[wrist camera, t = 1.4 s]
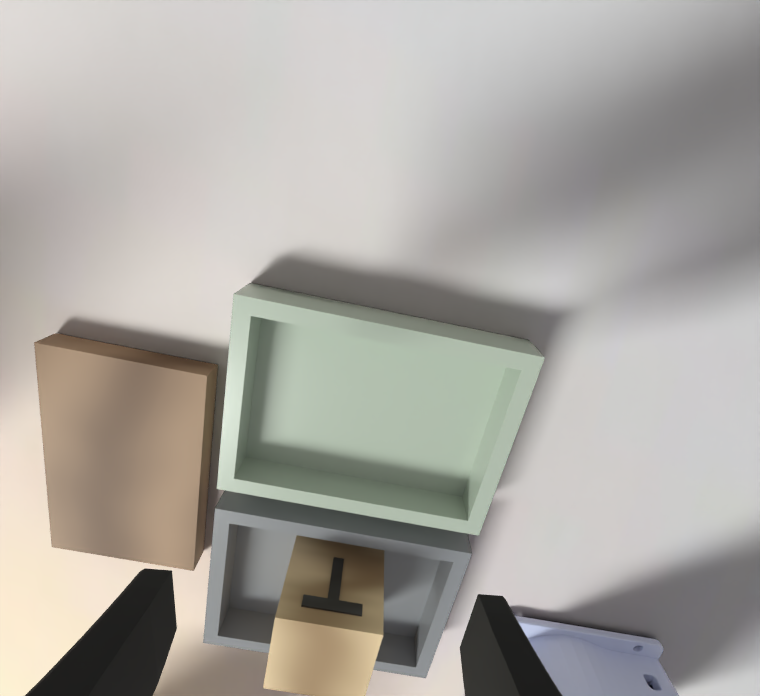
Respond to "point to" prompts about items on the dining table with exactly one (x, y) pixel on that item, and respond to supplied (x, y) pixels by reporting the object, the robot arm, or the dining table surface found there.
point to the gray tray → (287, 520)
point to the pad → (126, 449)
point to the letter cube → (327, 620)
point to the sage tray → (369, 409)
